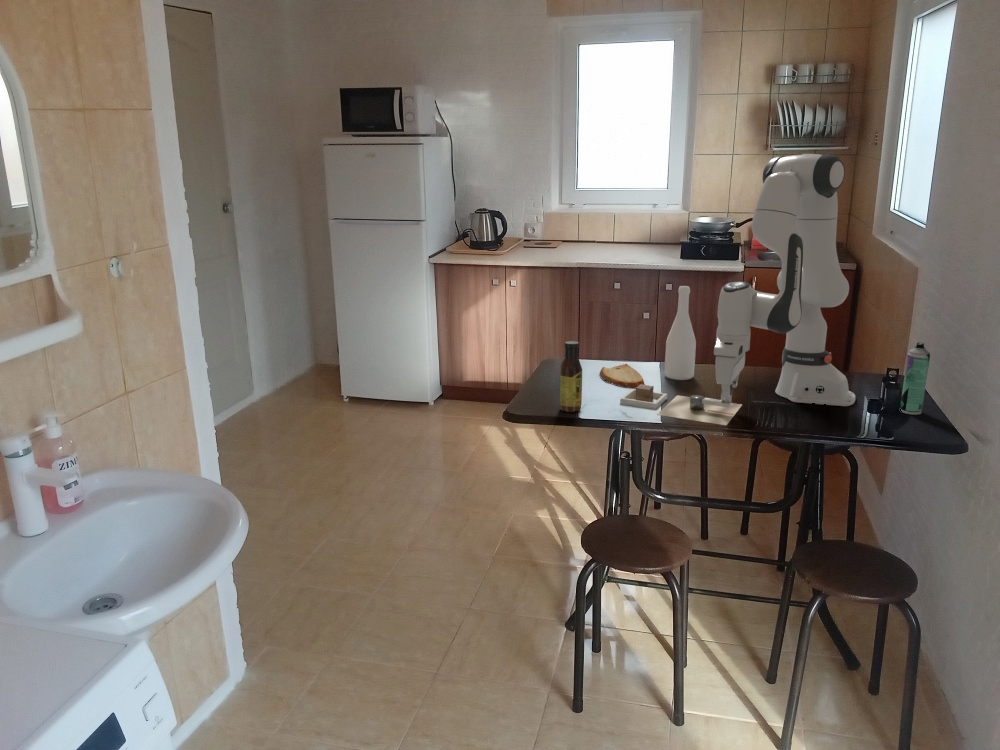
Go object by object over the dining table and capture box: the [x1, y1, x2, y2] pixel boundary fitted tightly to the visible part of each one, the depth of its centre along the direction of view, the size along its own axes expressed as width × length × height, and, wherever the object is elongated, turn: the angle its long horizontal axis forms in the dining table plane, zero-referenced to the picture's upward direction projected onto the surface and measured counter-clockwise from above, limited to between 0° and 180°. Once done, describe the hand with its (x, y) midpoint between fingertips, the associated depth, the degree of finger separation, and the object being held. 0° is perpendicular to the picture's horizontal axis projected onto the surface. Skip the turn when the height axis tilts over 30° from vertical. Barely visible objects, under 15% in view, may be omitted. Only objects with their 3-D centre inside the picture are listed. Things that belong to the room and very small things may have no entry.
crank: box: [689, 384, 733, 410], centre depth 212 cm, size 11×4×8 cm, turn 57°
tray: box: [619, 388, 668, 410], centre depth 222 cm, size 11×11×3 cm
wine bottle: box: [663, 285, 697, 381], centre depth 247 cm, size 10×10×30 cm
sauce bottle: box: [559, 340, 583, 413], centre depth 217 cm, size 7×6×20 cm
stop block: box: [635, 384, 655, 402], centre depth 221 cm, size 4×4×5 cm
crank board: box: [656, 394, 743, 426], centre depth 214 cm, size 19×20×2 cm
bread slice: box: [599, 363, 646, 389], centre depth 249 cm, size 18×18×4 cm
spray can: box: [899, 342, 931, 416], centre depth 213 cm, size 6×6×20 cm
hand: (729, 391), depth 210 cm, fingers open, 8 cm apart
